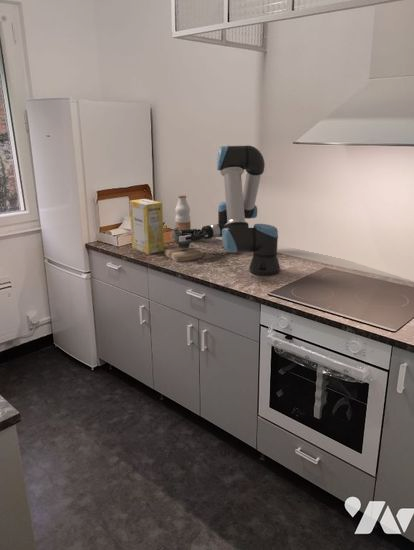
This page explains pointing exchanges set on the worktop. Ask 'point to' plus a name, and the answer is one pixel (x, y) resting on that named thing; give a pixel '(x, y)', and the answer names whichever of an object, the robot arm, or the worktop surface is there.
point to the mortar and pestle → (183, 243)
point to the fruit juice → (182, 214)
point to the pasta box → (146, 225)
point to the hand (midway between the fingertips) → (175, 237)
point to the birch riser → (182, 254)
